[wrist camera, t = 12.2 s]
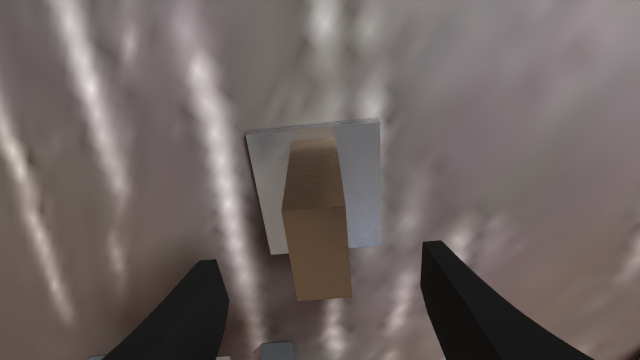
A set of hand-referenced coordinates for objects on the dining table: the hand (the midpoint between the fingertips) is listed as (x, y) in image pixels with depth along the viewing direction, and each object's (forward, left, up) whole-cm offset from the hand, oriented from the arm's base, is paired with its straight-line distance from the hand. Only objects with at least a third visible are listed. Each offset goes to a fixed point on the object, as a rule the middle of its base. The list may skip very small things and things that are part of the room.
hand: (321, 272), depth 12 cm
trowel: (0, 0, -6) cm, 6 cm away
